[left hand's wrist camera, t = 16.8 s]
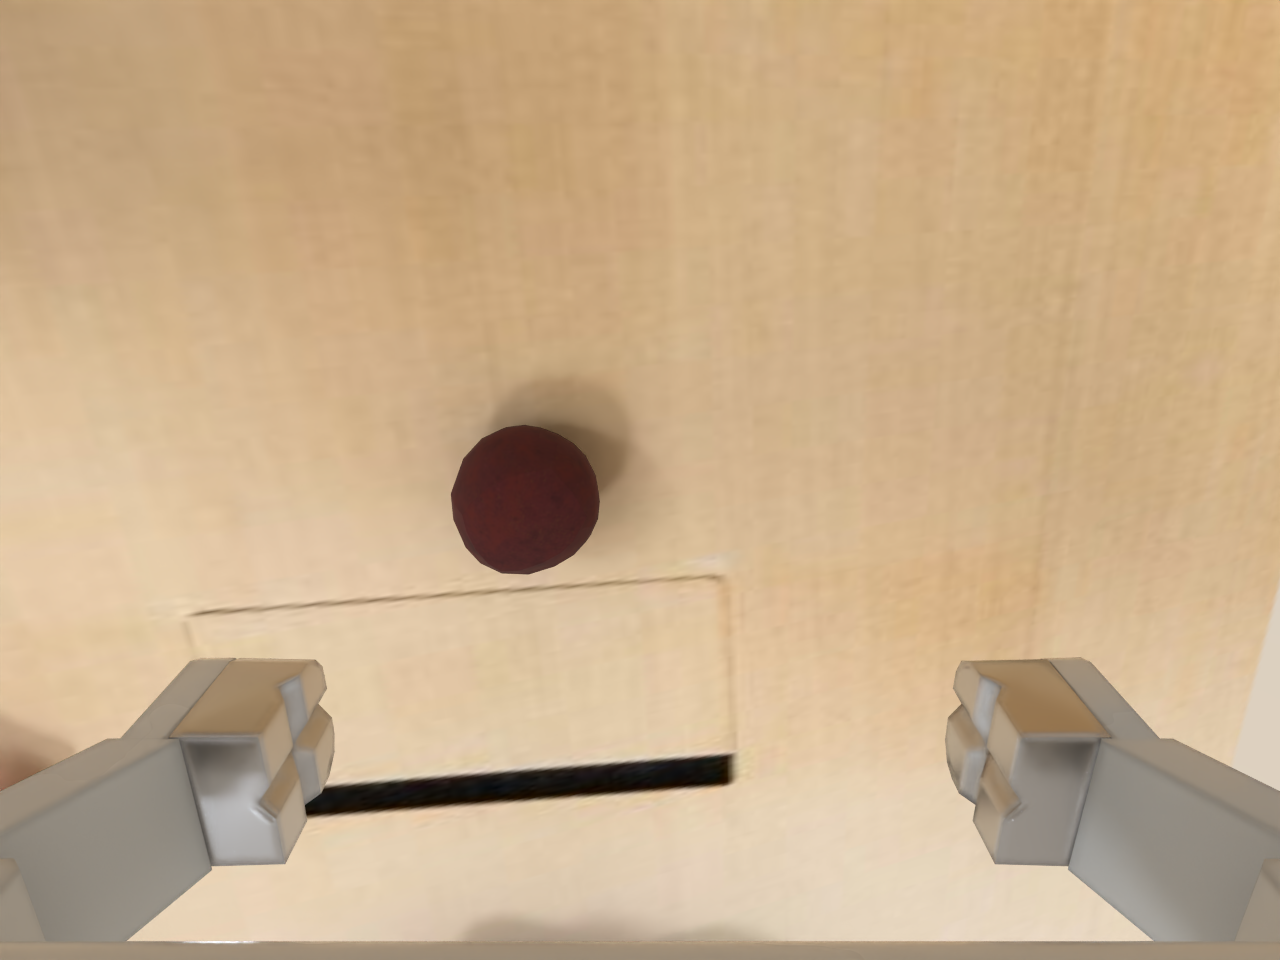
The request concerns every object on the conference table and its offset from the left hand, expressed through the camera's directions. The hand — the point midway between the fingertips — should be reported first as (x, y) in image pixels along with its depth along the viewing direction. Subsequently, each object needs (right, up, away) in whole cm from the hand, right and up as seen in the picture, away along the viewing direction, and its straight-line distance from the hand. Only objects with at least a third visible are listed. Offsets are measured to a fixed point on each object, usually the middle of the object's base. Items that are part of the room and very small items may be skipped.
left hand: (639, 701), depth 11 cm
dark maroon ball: (-6, +3, +35) cm, 35 cm away
